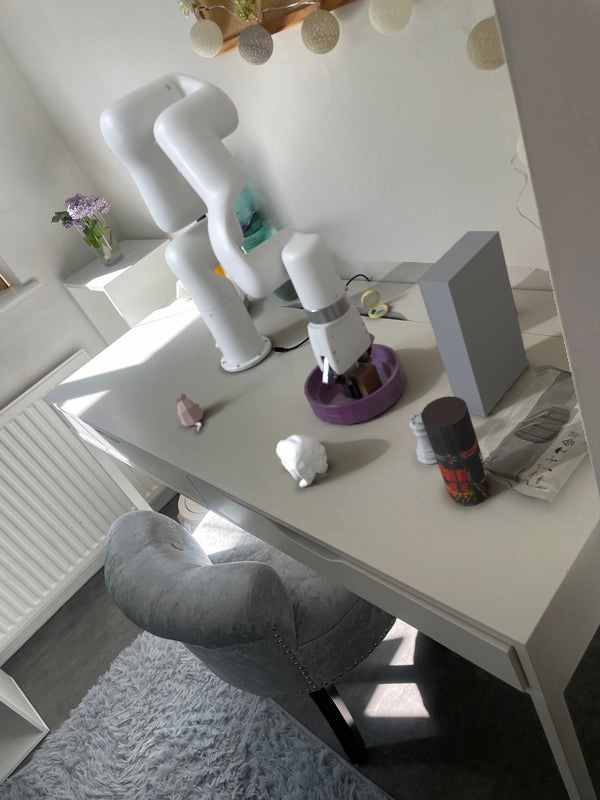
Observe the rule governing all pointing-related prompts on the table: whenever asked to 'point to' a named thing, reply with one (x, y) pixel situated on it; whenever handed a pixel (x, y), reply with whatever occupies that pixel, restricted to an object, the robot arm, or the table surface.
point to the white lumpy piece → (302, 457)
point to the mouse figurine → (189, 411)
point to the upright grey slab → (475, 320)
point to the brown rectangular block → (364, 378)
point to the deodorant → (456, 450)
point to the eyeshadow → (373, 304)
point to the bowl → (347, 411)
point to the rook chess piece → (422, 440)
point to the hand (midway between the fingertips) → (361, 389)
